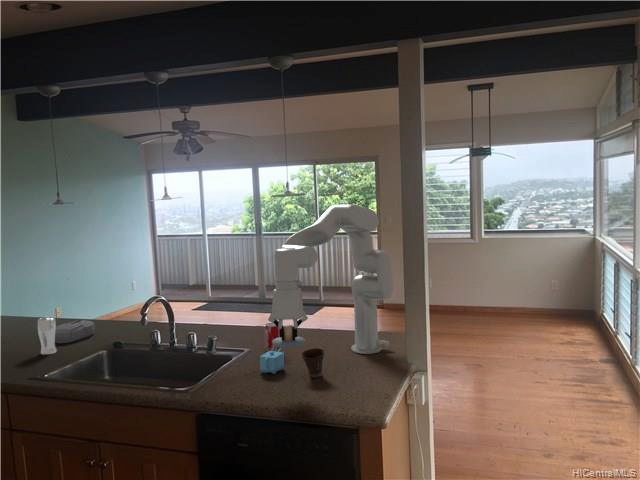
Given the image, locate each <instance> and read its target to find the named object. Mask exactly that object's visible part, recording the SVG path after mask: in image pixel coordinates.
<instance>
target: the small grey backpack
mask: <svg viewBox="0 0 640 480" xmlns="http://www.w3.org/2000/svg"><path fill="white" fill-rule="evenodd" d="M95 331H96V325H95V323H94V322H93V321H91V320H81V319H78V320H76V319H74V320H70V321H67V322H64V323H62V324H59V325H58V326H57V325H56V338H55V344H68V343H73V342H78V341H81V340H84V339H86V338H88V337H90V336H92V335H94V333H95Z"/></svg>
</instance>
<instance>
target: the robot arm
mask: <svg viewBox="0 0 640 480" xmlns="http://www.w3.org/2000/svg"><path fill="white" fill-rule="evenodd" d="M378 226H379V216H378V214H377V212H376V211H374V210H373V209H369V208H368V207H364V206H361V205H359V204H352V203H349V204H347V203H346V204H345V203H344V204H333V205H330V206H329V207H328V208H327V209H325V211H324V212H323V213H322V215H320V217H319V218H318V219H316V221H315V222H314V223H313V224H312V225H309V226H307V227H305V228H303V229H301V230H299V231H298V232H295V233H294V234H292V235H291V236H289V238H287V239H286V240H285V241H284V243H282V245H281V246H280V248H277V249H276V250H274V255H273V256H274V280H275V281H274V283H275V284H274V285H275V288H274V289H273V292H272V293H273V294H272V303H271V304H272V306H271V307H272V309H271V310H272V311H271V313H270V314H269V316H268V318H267V320H268V322H269V323H274V324H275V325H276V326H277V327H278V328H279V332H280V338H282V341H283V340H284V328H283V326H284V325H283V323H284V321H285V320H286V321H288V320H292V323H293V340H295V338H296V337H297V336H298V328H299V326H300V325H301V324H302V323H304V322H306V321H308V319H309V317H308V316H307V314H306V312H305V311H304V302H303V295H302V294H303V293H302V290H301V288H300V286H303V281H300V280H299V277H298V276H299V273H298V271H299V270H298V269H309V268H311V267H313V266H314V265H315V264H317V261H318V258H319V257H318V253H317V252H318V251H316V249H315V248H314V247H318V246H321V245H324V244H327V243H329V242H330V241H331V240H332V239H333V238H334V237H335V235H336V234H337V233H338V232H339V230H340V229H341V230H342V231H343V232H345V233H346V234H347V235H348V238H349V240H350V243H351V257H352V264H353V268H354V270H355V271H356V272H360V273H367V274H359V275H356V276H354V277H353V279H352V280H351V283H350V284H351V293H352V297H353V307H354V308H353V309H354V312H353V313H354V314H353V315H354V344H353V345H352V346H351V348H350V349H351V351H352V352H353V353H357V354H359V355H360V354H361V355H372V354H377V353H380V352H382V347H383V346H385V347H389V346H390V341H389V340H385V339H379V337H378V333H379V332H378V328H379V327H378V306H377V303H376V302H375V300H378V301H379V300H380V301H381V300H382V301H385V300H390V299H391V297H392V296H393V294H394V277H393V265H392V263H393V261H392V258H391V256H390V254H389V252H387V251H385V250H383V249H374V245H373V238H372V236H371V235H372V234H371V232H374V231H376V230H377V228H378ZM372 274H373V275H372ZM374 274H376V275H374Z"/></svg>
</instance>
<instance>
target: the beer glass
mask: <svg viewBox="0 0 640 480" xmlns="http://www.w3.org/2000/svg"><path fill="white" fill-rule="evenodd" d="M56 327H57V322H56V317H53V316H46V317H41V318H38V319H37V332H38V333H37V334H38V337H39V341H40V346H41V349H40V355H43V356H48V355H53V354H56V353H57V351H58V349H57V346H56V343H55V338H56Z"/></svg>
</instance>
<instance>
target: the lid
mask: <svg viewBox="0 0 640 480" xmlns="http://www.w3.org/2000/svg"><path fill="white" fill-rule="evenodd" d="M293 326H294V324H284V325H283V328H284V340H283V341H282V338H280V337H279V338H276V339H274V340H273V341H272V344H273V345H274V346H276V347H280V348H281V349H282V348H283V349H286V348H287V349H290V348H298V347H301V346H303V345H305V344H306V339H305V338H304V337H302V336H298V335H297V337H296V338H295V340H293Z"/></svg>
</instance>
